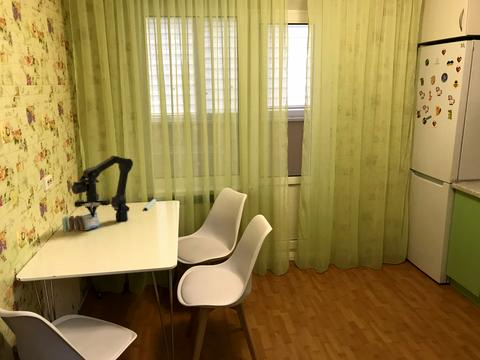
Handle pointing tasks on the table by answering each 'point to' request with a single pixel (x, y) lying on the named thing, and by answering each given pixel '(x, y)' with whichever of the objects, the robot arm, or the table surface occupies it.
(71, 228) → the domino
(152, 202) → the white black-tipped bar
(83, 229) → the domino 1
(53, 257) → the table surface
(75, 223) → the domino
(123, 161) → the robot arm
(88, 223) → the medicine box
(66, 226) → the domino
